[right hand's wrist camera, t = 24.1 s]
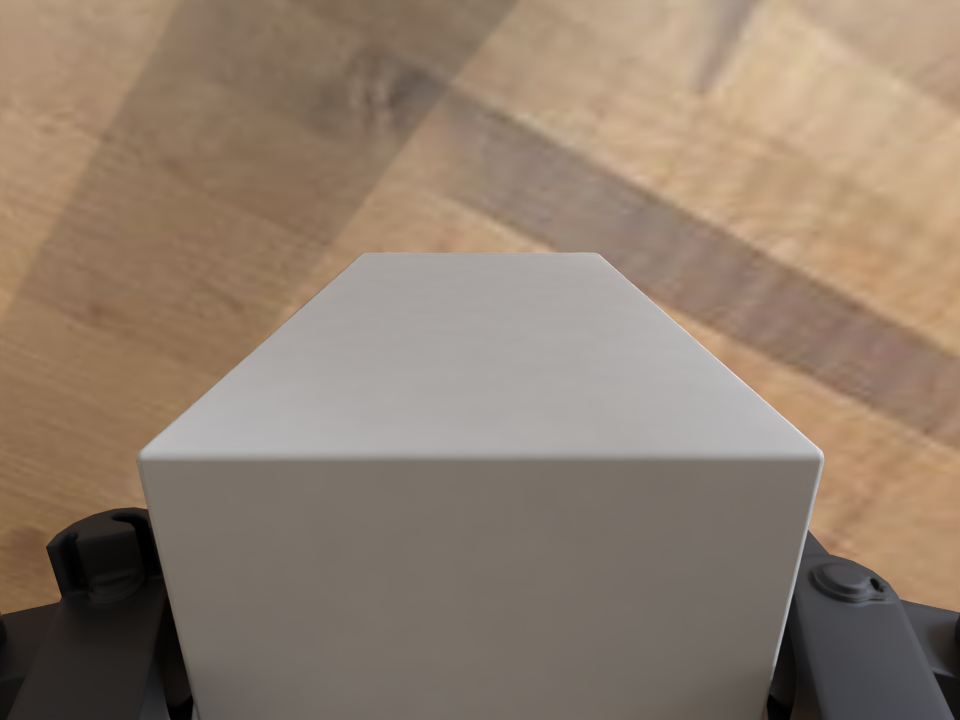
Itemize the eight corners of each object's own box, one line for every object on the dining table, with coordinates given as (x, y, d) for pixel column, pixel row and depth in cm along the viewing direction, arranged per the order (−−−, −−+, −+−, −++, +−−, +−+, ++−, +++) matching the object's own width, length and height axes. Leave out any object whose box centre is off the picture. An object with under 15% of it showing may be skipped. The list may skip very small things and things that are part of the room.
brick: (377, 477, 18) (241, 916, 8) (361, 252, 16) (129, 453, 5) (582, 477, 18) (719, 916, 8) (598, 252, 16) (831, 453, 5)
